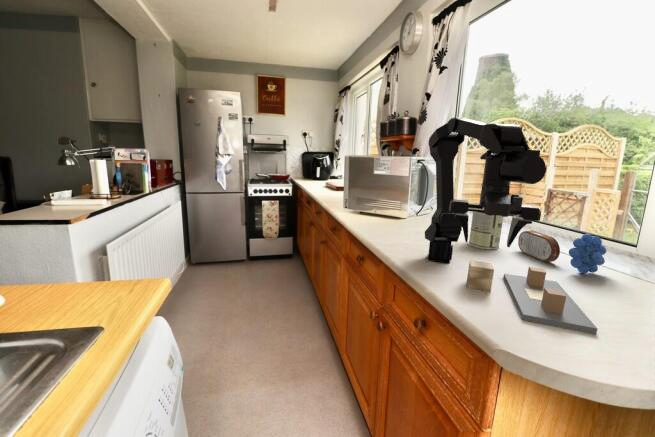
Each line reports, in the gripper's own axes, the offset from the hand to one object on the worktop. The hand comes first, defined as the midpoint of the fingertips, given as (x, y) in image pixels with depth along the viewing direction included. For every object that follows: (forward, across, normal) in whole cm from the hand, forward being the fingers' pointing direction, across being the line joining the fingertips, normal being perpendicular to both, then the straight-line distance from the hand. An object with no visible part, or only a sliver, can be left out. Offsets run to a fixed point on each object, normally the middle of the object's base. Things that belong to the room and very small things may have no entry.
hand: (486, 244), depth 75 cm
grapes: (+11, +30, +23) cm, 39 cm away
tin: (+11, +20, +35) cm, 42 cm away
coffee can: (+11, +6, +42) cm, 44 cm away
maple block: (+11, -1, 0) cm, 11 cm away
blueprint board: (+11, +12, -3) cm, 17 cm away
